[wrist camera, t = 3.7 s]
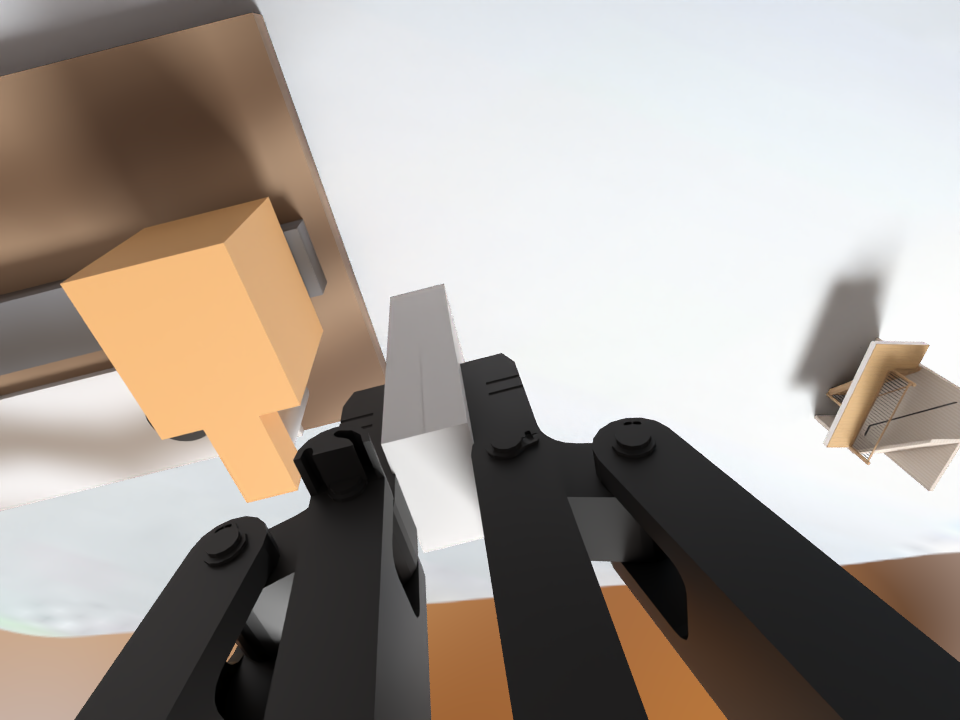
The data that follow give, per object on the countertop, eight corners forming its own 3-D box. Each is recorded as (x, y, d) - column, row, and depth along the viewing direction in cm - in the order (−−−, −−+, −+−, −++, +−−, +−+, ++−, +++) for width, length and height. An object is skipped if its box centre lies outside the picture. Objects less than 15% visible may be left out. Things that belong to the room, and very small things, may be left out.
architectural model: (787, 413, 35) (872, 495, 28) (829, 314, 32) (936, 381, 25) (835, 413, 35) (930, 494, 29) (881, 315, 32) (1001, 382, 26)
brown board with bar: (-383, 178, 21) (-861, 253, 13) (262, 15, 21) (172, -10, 13) (-59, 505, 30) (-228, 668, 22) (396, 392, 30) (392, 515, 22)
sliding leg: (150, 224, 22) (60, 283, 16) (271, 193, 22) (223, 242, 16) (250, 415, 27) (208, 512, 21) (350, 390, 27) (335, 480, 21)
